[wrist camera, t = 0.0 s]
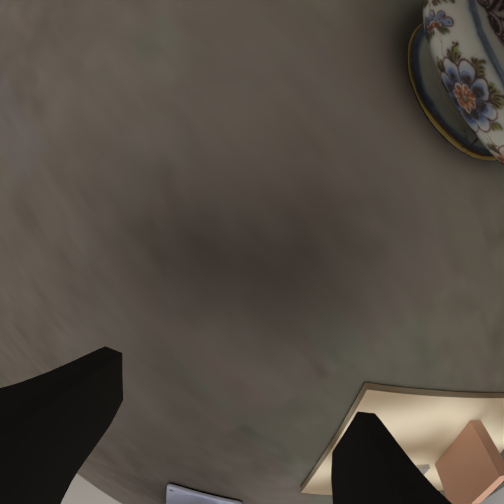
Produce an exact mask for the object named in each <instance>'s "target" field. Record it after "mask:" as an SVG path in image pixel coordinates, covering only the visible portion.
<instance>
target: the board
mask: <svg viewBox="0 0 504 504" xmlns="http://www.w3.org/2000/svg"><path fill="white" fill-rule="evenodd" d="M357 411H359V412H368V413H375V414H376V415H377V416H378V417H379V419H380V420H381V421H382V422H383V424H384V425H385V426H386V428H387V429H388V430H389V432H390V433H391V434H392V436H393V437H394V438H395V440H396V441H397V442H398V444H399V445H400V446H401V448H402V449H403V450H404V452H405V453H406V454H407V455H408V457H409V458H410V459H411V460H412V462H413V463H414V464H415V465H428V464H429V467H430V469H429V470H428V471H427V472H426V473H425V474H424V476H425V477H426V478H427V479H428V480H429V481H430V483H431V484H432V485H433V486H434V487H435V488H436V489H437V490H444V489H443V486H442V483H441V480H440V478H439V475H438V472H437V469H436V467H435V463H436V462H437V461H438V460H439V458H440V457H441V456H442V455H443V454H444V453H445V451H446V450H447V449H448V448H449V447H450V445H451V444H452V443H453V442H454V440H455V439H456V438H457V437H458V435H459V434H460V433H461V431H462V430H463V429H464V428H465V426H466V425H467V423H468V422H469V421H470V420H481V422H482V423H483V425H484V427H485V428H486V430H487V432H488V433H489V435H490V437H491V438H492V440H493V442H494V444H495V446H496V447H497V449H498V451H499V453H501V452H502V451H503V449H504V393H475V392H453V391H438V390H426V389H415V388H405V387H396V386H388V385H380V384H373V383H366V382H365V383H364V385H363V387H362V389H361V391H360V393H359V394H358V396H357V398H356V400H355V402H354V404H353V405H352V407H351V409H350V411H349V412H348V414H347V416H346V418H345V419H344V421H343V423H342V425H341V426H340V428H339V430H338V431H337V433H336V435H335V436H334V438H333V439H332V441H331V443H330V444H329V446H328V447H327V449H326V450H325V452H324V453H323V455H322V457H321V458H320V460H319V461H318V463H317V464H316V466H315V467H314V468H313V470H312V471H311V473H310V474H309V476H308V477H307V478H306V480H305V481H304V483H303V484H302V485H301V493H312V494H325V495H332V485H331V466H332V451H333V450H334V448H335V447H336V445H337V444H338V442H339V441H340V439H341V438H342V436H343V434H344V433H345V431H346V430H347V428H348V426H349V425H350V423H351V421H352V420H353V418H354V416H355V415H356V413H357Z"/></svg>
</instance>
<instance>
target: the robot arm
mask: <svg viewBox="0 0 504 504" xmlns="http://www.w3.org/2000/svg"><path fill="white" fill-rule="evenodd" d="M122 401H123V383H122V353H121V352H118V351H115V350H113V349H110V348H108V347H103V348H100V349H98V350H96V351H94V352H91V353H89V354H87V355H85V356H83V357H81V358H79V359H77V360H74V361H72V362H70V363H68V364H66V365H63V366H61V367H59V368H56V369H54V370H52V371H50V372H47V373H44V374H42V375H39V376H36V377H34V378H31V379H28V380H26V381H23V382H20V383H17V384H14V385H10V386H7V387H3V388H0V504H61V501H62V499H63V497H64V495H65V493H66V491H67V489H68V487H69V485H70V483H71V481H72V480H73V478H74V476H75V475H76V473H77V472H78V470H79V469H80V467H81V466H82V464H83V463H84V461H85V460H86V459H87V457H88V456H89V454H90V453H91V451H92V450H93V449H94V447H95V446H96V444H97V443H98V442H99V440H100V439H101V437H102V436H103V434H104V433H105V432H106V430H107V429H108V427H109V426H110V424H111V422H112V421H113V419H114V417H115V415H116V413H117V411H118V409H119V407H120V405H121V403H122ZM331 485H332V496H333V504H452V503H451V502H450V501H449V500H448V499H446V498H445V497H444V496H443V495H442V494H441V493H440V492H439V491H438V490H437V489H436V488H435V487H434V486H433V485H432V484H431V483H430V481H429V480H428V479H427V478H426V477H425V476H424V475H423V474H422V473H421V471H420V470H419V469H418V468H417V467H416V465H415V464H414V463H413V462H412V460H411V459H410V458H409V457H408V455H407V454H406V453H405V452H404V450H403V449H402V448H401V446H400V445H399V444H398V442H397V441H396V440H395V438H394V437H393V436H392V434H391V433H390V432H389V430H388V429H387V428H386V426H385V425H384V424H383V422H382V421H381V420H380V419H379V417H378V416H377V415H376V414H375V413H368V412H359V411H357V413H356V415H355V416H354V418H353V420H352V421H351V423H350V425H349V426H348V428H347V430H346V431H345V433H344V434H343V436H342V438H341V439H340V441H339V442H338V444H337V445H336V447H335V448H334V450H333V451H332V466H331ZM166 504H242V502H240V501H236V500H231V499H226V498H222V497H217V496H213V495H209V494H205V493H201V492H198V491H194V490H190V489H187V488H183V487H180V486H177V485H174V484H168V485H167V494H166Z"/></svg>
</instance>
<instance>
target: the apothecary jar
mask: <svg viewBox="0 0 504 504" xmlns="http://www.w3.org/2000/svg"><path fill="white" fill-rule="evenodd" d="M408 70H409V75H410V79H411V82H412V85H413V88H414V91H415V94H416V96H417V98H418V101H419V103H420V105H421V106H422V108H423V110H424V112H425V113H426V115H427V117H428V118H429V119H430V121H431V122H432V124H433V125H434V126H435V127H436V129H437V130H438V131H439V132H440V133H441V134H442V135H443V136H444V137H445V138H446V139H447V140H448V141H449V142H450V143H451V144H452V145H454V146H455V147H456V148H458V149H459V150H461V151H462V152H464V153H466V154H467V155H470V156H472V157H474V158H478V159H482V160H499V161H500V162H501V163H502V164H503V165H504V0H423V23H422V24H420V25H419V26H418V27H417V28H416V29H415V31H414V32H413V34H412V36H411V39H410V42H409V45H408Z"/></svg>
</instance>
